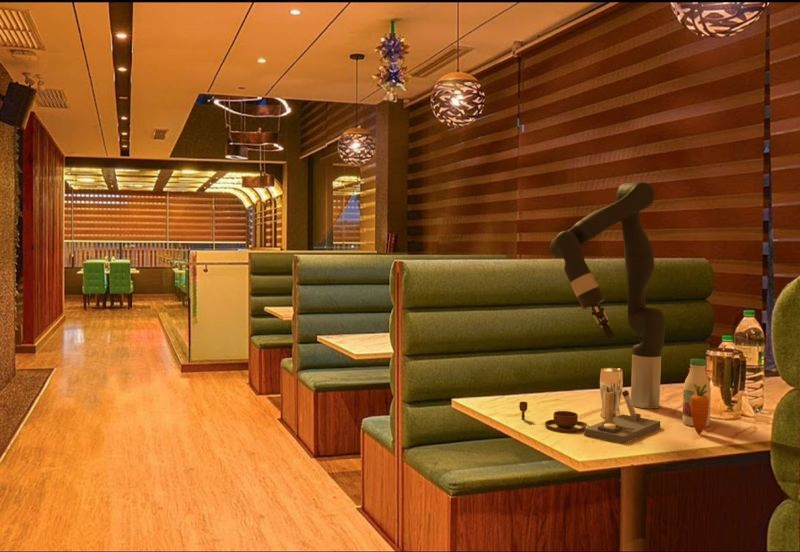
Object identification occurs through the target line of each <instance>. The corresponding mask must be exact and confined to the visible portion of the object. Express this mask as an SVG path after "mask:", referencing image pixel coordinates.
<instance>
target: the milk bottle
mask: <svg viewBox="0 0 800 552" xmlns="http://www.w3.org/2000/svg"><path fill="white" fill-rule="evenodd" d="M689 366H690V370H689V372H688V375H687V376H686V378H685V380H684V385H683V394H682V395H683V396H682V397H683V398H682V424H684V425H686V426H689V427H694V424H693V420H692V413H691V398H692V396H693V395H697V392H696V389H695V386H694V383H695V384H696V385H697V386H698V385H700V389H701V387H702V385H703V384H704V383H705V384H706V385H707V386H706V388H705V389H704V391H705V390H707V392H706V393H705V394H703V395H705V396H707V397H708V399H709V408H708V416H707V421H706V425H705V427H704V428H706V427H710V423H711V422H710V421H711V396H712V395H711V393H712V392H711V391H712V390H711V389H712V388H711V384H710V380H709V378H708V375H707V372H706V368H707V359H704V358H696V357H694V358H690V360H689ZM700 389H699V392H700Z"/></svg>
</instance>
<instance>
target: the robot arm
mask: <svg viewBox="0 0 800 552" xmlns="http://www.w3.org/2000/svg"><path fill="white" fill-rule="evenodd" d="M655 196H656V193H655V189H654V187H653V186H652V185H651V184H650V183H648V182H644V181H634V182H633V181H632V182H625V183H622V184H621V185H619V187H618V189H617V192H616V201H615V202H614V203H612V204H609V205H607V206H604V207H602V208H600V209H598V210H595V211H593V212H591V213H589V214H588V215H586V216H585V217H583V218H582V219H580V220H578V221H577V222H576V223H575V224H574V225H573V226H572V227H571V228H569V229H568V230H563V231H561V232H559V233H558V234H557V235H556V236H555V237H554V238H553V239H552V240H551V242H550V245H549V250H550V253H551V255H552V256H553V257H555V258H557V259H563V261H564V268H563V270H564V273H565V275H566V277H567V278H568V281H569V283H570V285H571V287H572V290H573V292H574V294H575V296H576V298H577V300H578V302H579V303H580V306H581V309H583V310H587V309H590V308H591V310H592V312H591V315H592V317H593V318H594V319H595V321H596V323H597V324H598V325H599V327H600V328H601V329H602V330H603V332H604V334H605V336H606V338H607V339H608V341H610V340H612V339H615V338H616V337H615V334H614V332H613V330H612V328H611V326H610V322H609V317H608V316H607V312H606V310H605V308H604V307H603V306H602V307H601V305H600V303H603V302H604V301H605V300H606V297H605V296H604V295H605V294H604V293H603V292H602V289H601V288H600V286H599V284H598V281H597V280H596V278H595V277H594V276H593V273H592V272H591V270H590V268H589V266H588V264H587V263H586V260H585V256H584V252H583V249H582V246H583V245H584V244H586V243H587V242H590V241H592V239H595V238H596V237H598V235H600V234H602V233H603V232H604V231H606V230H608V229H609V228H610V227H612V226H614V225H615V224H617V223H619V222H620V224H621V232H622V241H623V254H624V265H625V271H626V284H627V323H628V327H629V329H630V331H631V332H632V333H634V334H638V335H639V334H640V335H643V337H642V338H643V339H642V341H641V342H640V343H637V344H634V345H633V346H632V348H631V349H632V350H631V351H632V353H631V380H630V382H631V385H630V386H631V387H630V399H631V402H632V404H633V407H634V408H635V407H636V408H642V409H656V408H657V409H658V408H660V402H661V401H660V398H661V372H662V371H661V370H662V367H661V366H662V365H661V364H662V352H663V351H662V350H663V349H664V348H663V347H664V345H665V344H664V343H665V333H666V317H665V313H664V312H663V311H662V310H661V309H659V308H655V307H648V306H647V303H646V290H647V288H648V285H649V283H650V281H651V279H652V276H653V274H654V270H655V256H654V254H655V253H654V248H653V246H652V245H653V244H652V243H651V240H650V238H649V237H648V235H647V234H646V232H645V230H644V228H643V225H642V222H641V215H640V212H641V211H644V210H646V209H648V208H649V207H650V206H652V204H653V203H654V201H655V198H656V197H655Z"/></svg>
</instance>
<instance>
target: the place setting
mask: <svg viewBox="0 0 800 552" xmlns="http://www.w3.org/2000/svg"><path fill="white" fill-rule="evenodd" d="M518 405H519V411H520V412H521V420H522V421H524V420H525V417H526V415H525V412H527V410H528V402H527V401H519V404H518ZM578 418H579V417H578V413H577V412H573V411H567V410H558V411H557V410H556V411H555V412H553V419H548V420H546V421H545V422H544V426H545V428H546V429H547V430H550V431H553V432H557V433H558V432H559V433H567V434H570V433H571V434H573V433H582V432H584V428H587V427H590V426H591V425H588V424H587V422H584V421H578ZM551 425H556V426H557V427H554V426H551ZM528 426H531V424H528ZM575 426H578V427H580V428H574V427H575Z"/></svg>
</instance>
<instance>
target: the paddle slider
mask: <svg viewBox="0 0 800 552" xmlns="http://www.w3.org/2000/svg"><path fill="white" fill-rule="evenodd" d="M613 413H614V393H613V392H609V393H606V394H605V418H604V422H603V421H602V422H603V424H607V423H609V424H615V422H614V421H613Z"/></svg>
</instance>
